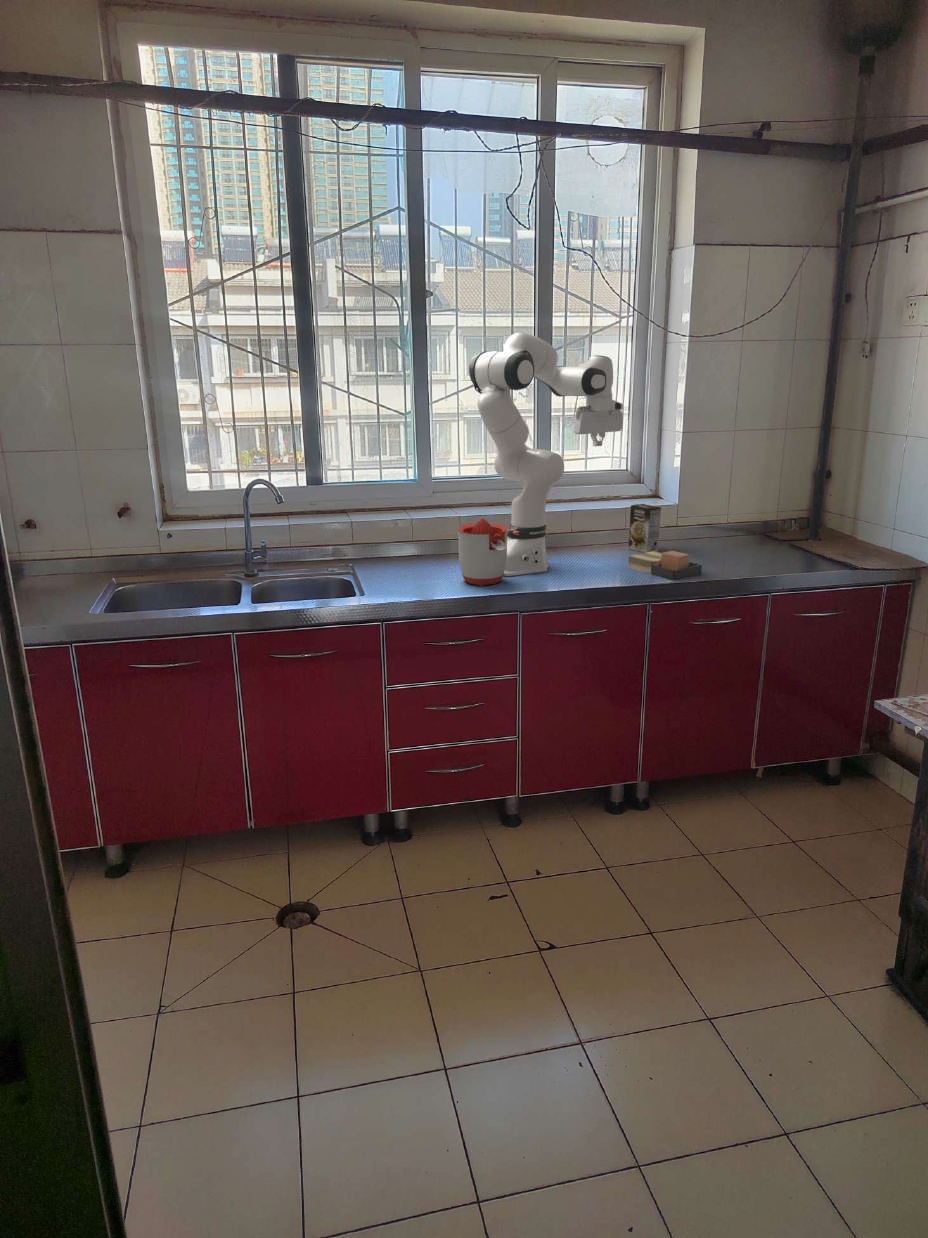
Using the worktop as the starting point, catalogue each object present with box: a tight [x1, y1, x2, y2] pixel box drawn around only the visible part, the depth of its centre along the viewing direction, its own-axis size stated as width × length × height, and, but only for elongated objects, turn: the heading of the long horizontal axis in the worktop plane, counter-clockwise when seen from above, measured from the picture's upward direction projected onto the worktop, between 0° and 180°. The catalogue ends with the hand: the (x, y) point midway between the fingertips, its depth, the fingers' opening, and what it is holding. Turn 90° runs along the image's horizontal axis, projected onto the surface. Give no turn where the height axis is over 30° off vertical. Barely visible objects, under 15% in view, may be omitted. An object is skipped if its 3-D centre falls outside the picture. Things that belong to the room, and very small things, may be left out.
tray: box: [650, 561, 703, 581], centre depth 259 cm, size 13×9×3 cm
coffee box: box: [628, 503, 662, 553], centre depth 290 cm, size 9×6×16 cm
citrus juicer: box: [457, 518, 509, 586], centre depth 251 cm, size 16×17×20 cm
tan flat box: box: [627, 551, 663, 575], centre depth 267 cm, size 12×10×4 cm
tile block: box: [661, 550, 690, 570], centre depth 259 cm, size 5×6×7 cm
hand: (597, 446), depth 282 cm, fingers closed
